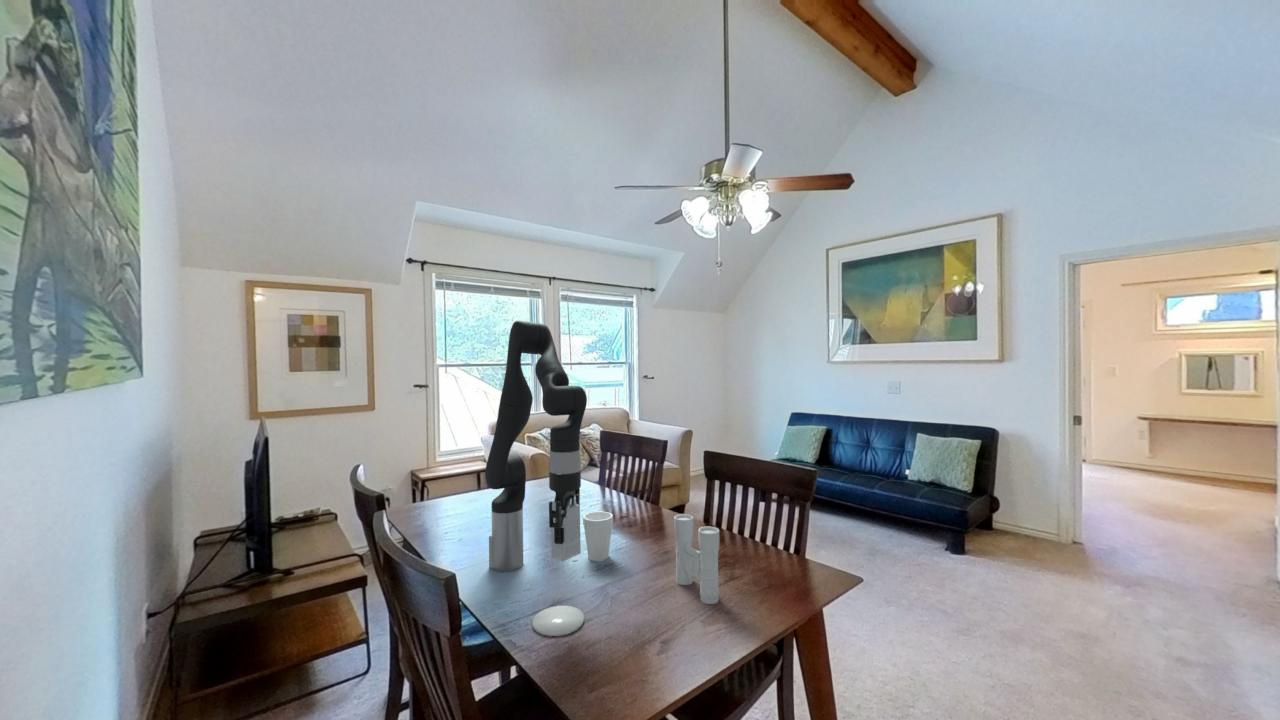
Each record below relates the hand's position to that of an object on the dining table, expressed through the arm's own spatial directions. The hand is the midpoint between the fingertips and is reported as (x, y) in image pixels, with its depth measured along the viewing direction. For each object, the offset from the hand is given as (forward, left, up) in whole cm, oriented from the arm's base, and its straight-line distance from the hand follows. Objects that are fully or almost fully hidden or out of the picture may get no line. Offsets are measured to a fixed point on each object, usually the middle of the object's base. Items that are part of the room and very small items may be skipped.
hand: (565, 537), depth 114 cm
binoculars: (+29, +21, -20) cm, 41 cm away
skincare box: (0, 0, -5) cm, 5 cm away
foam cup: (-4, +36, -20) cm, 42 cm away
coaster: (-1, -2, -20) cm, 20 cm away
